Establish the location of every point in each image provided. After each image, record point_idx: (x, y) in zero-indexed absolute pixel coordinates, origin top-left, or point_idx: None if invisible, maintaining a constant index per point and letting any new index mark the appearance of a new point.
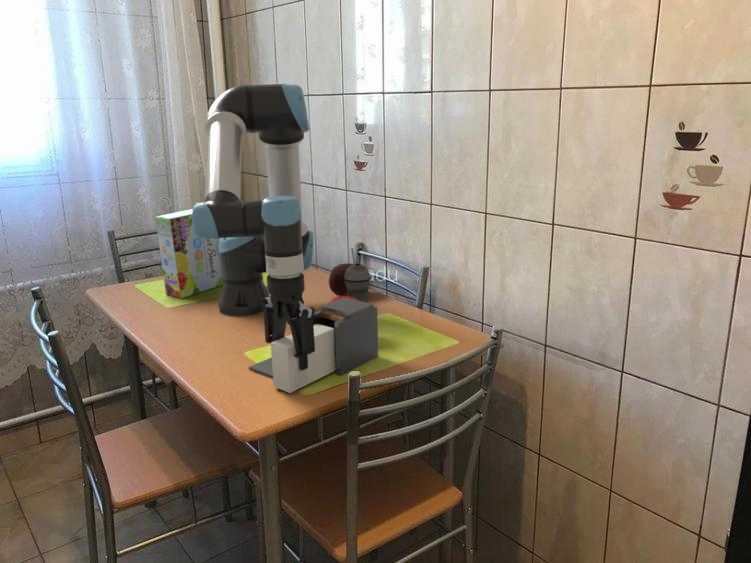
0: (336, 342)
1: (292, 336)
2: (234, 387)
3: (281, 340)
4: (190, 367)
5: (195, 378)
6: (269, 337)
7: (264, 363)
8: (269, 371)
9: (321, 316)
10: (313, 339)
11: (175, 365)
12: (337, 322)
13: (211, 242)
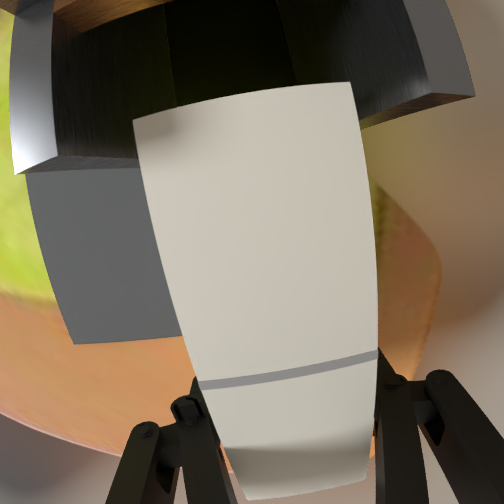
0: (362, 122)
1: (376, 497)
2: (166, 419)
3: (259, 473)
4: (23, 404)
5: (77, 431)
6: (176, 481)
7: (71, 299)
8: (134, 324)
9: (74, 40)
10: (479, 415)
11: (10, 411)
12: (459, 89)
13: None
